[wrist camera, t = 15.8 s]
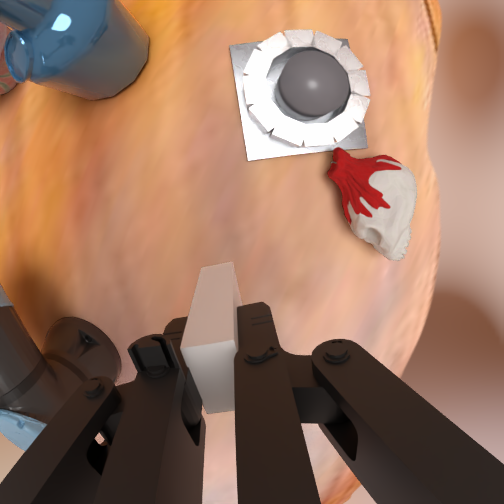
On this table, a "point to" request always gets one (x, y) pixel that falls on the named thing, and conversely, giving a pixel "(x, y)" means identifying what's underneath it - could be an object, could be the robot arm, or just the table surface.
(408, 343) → the table surface
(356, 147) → the square flange collar
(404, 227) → the candle
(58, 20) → the wine bottle
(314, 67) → the cap
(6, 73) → the potted plant
